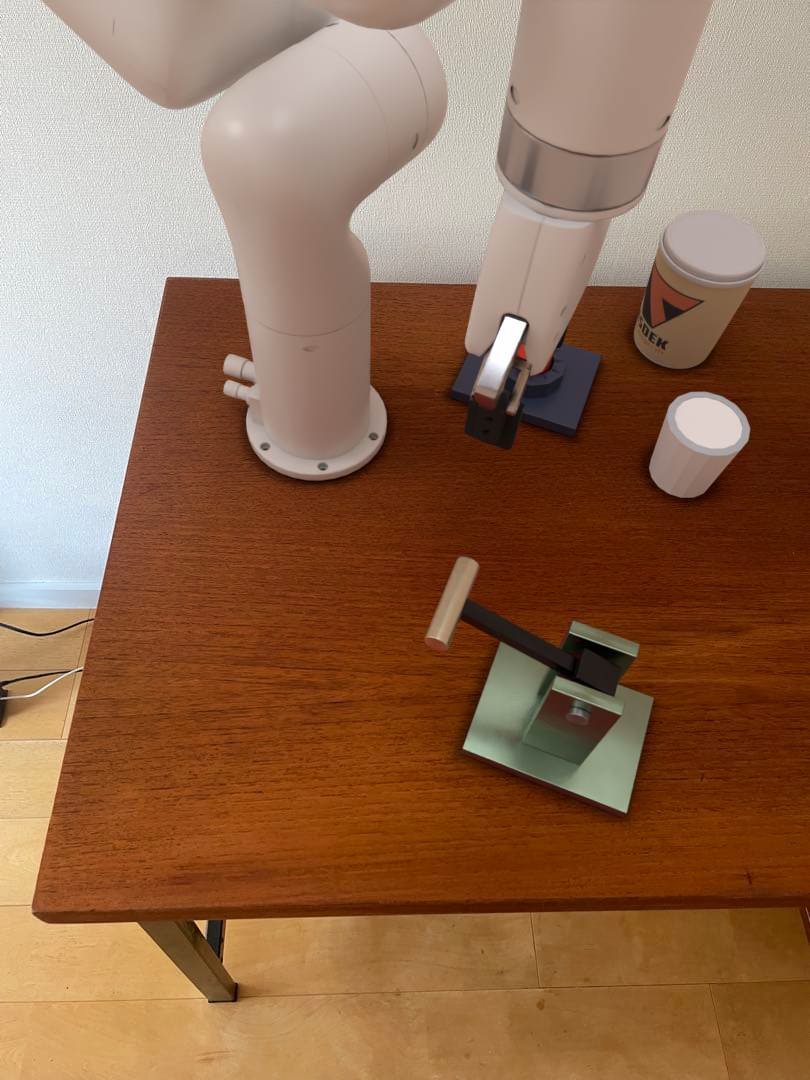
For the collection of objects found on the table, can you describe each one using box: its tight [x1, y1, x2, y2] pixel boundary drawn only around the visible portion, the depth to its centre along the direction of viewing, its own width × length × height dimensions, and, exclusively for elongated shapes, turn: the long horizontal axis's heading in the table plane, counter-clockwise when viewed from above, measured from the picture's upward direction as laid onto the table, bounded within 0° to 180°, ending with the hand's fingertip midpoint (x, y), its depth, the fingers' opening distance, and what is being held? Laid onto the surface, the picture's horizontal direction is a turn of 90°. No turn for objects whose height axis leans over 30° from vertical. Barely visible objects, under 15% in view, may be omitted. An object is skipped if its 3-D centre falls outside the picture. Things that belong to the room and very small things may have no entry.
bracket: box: [460, 619, 655, 818], centre depth 54 cm, size 12×9×12 cm
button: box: [516, 344, 554, 375], centre depth 74 cm, size 4×4×2 cm
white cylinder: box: [648, 391, 751, 499], centre depth 69 cm, size 7×7×7 cm
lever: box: [423, 556, 622, 697], centre depth 50 cm, size 12×6×2 cm, turn 69°
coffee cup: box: [633, 209, 767, 370], centre depth 75 cm, size 9×9×12 cm
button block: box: [450, 343, 603, 438], centre depth 75 cm, size 12×10×3 cm
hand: (515, 387), depth 53 cm, fingers open, 9 cm apart
